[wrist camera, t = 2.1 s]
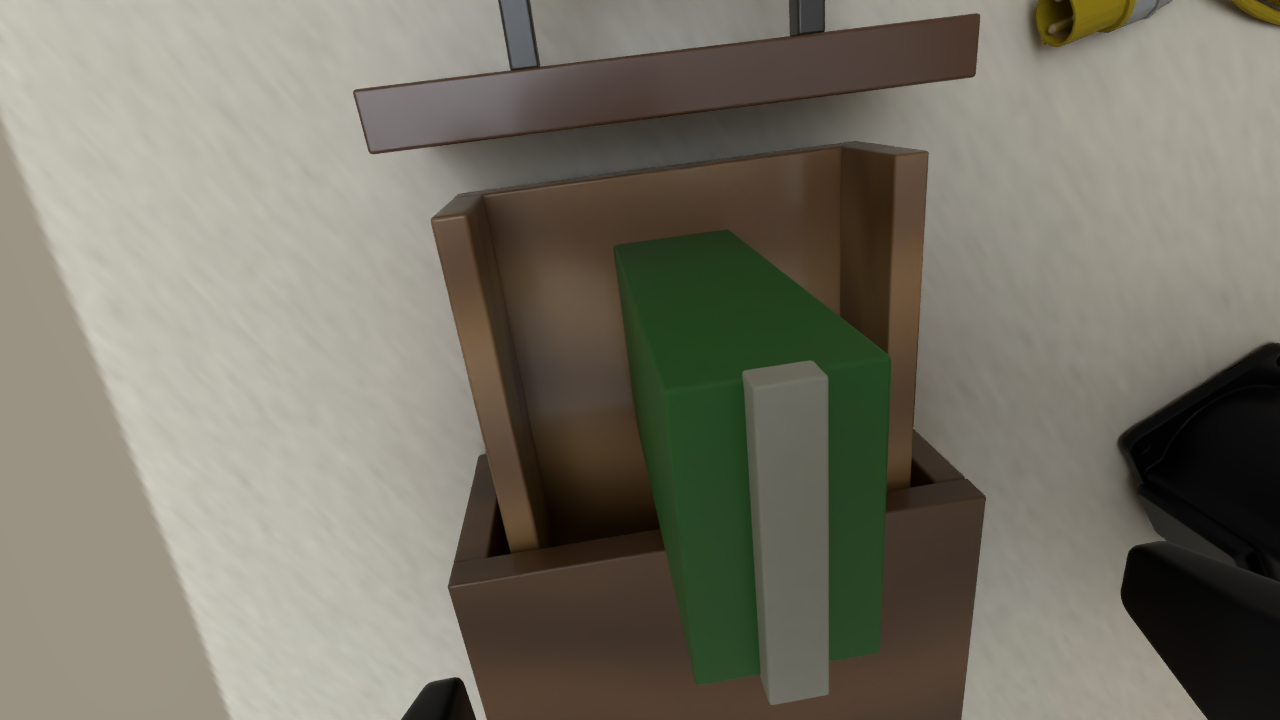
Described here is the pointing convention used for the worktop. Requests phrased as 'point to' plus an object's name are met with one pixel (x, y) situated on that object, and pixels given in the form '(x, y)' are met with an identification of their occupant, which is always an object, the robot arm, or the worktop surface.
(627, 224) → the drawer
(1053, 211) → the worktop surface
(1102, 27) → the extension cord
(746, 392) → the green rectangular block
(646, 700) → the cabinet
